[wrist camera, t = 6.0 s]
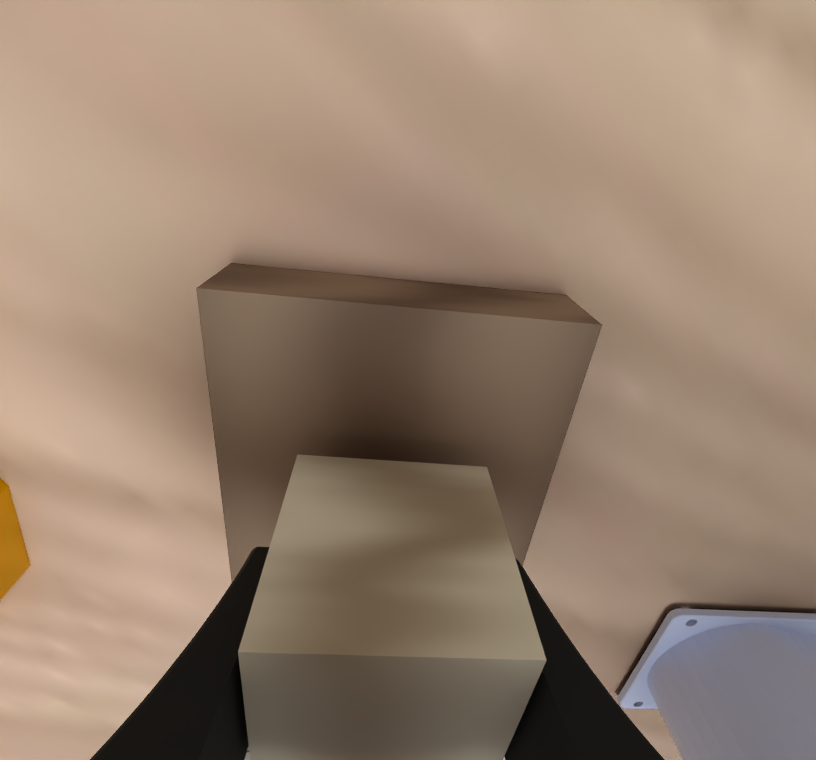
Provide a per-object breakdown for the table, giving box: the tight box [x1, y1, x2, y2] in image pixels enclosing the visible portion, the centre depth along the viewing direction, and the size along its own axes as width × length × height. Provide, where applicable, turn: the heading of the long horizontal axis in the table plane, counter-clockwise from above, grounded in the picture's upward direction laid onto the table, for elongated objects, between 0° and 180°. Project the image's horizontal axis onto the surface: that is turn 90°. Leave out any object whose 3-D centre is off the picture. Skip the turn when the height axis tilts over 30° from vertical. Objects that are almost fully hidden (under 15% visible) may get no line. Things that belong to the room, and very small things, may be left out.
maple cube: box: [238, 455, 547, 760], centre depth 10 cm, size 5×5×5 cm
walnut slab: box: [197, 263, 602, 582], centre depth 15 cm, size 10×12×3 cm
